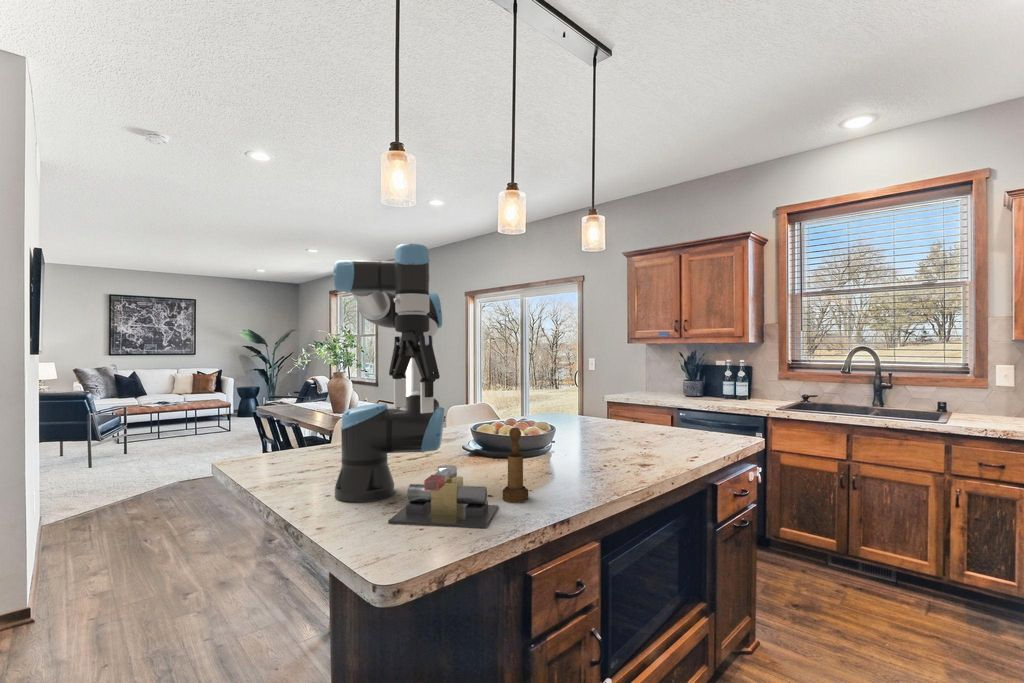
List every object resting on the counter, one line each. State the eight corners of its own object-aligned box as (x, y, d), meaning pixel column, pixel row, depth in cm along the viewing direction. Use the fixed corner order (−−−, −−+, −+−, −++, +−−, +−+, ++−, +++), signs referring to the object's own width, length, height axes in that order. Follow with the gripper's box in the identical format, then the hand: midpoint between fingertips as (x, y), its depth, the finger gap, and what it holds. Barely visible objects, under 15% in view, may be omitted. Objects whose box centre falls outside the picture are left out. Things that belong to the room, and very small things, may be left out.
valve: (388, 523, 112) (388, 485, 112) (410, 503, 126) (410, 470, 126) (486, 528, 109) (486, 489, 109) (498, 507, 122) (498, 472, 123)
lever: (441, 473, 121) (440, 464, 121) (459, 473, 121) (458, 465, 121) (421, 490, 107) (421, 480, 107) (441, 490, 107) (441, 481, 107)
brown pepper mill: (519, 504, 125) (519, 430, 125) (497, 500, 128) (497, 428, 128) (533, 497, 130) (532, 427, 131) (511, 493, 134) (511, 425, 134)
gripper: (374, 316, 122) (375, 405, 122) (422, 310, 102) (423, 417, 102) (403, 317, 126) (404, 403, 126) (455, 311, 106) (456, 413, 106)
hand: (412, 409), depth 114 cm, fingers open, 13 cm apart
